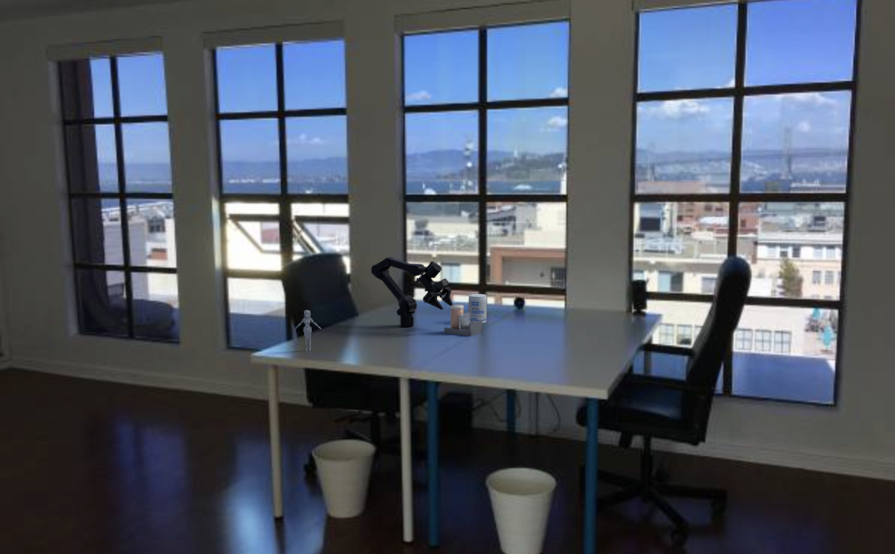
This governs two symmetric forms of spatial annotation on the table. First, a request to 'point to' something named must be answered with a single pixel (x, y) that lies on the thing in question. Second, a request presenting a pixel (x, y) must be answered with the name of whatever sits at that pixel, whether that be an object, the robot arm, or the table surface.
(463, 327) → the follower
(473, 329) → the lane
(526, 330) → the table surface
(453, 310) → the jar
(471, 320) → the supplement tub
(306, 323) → the human figurine
